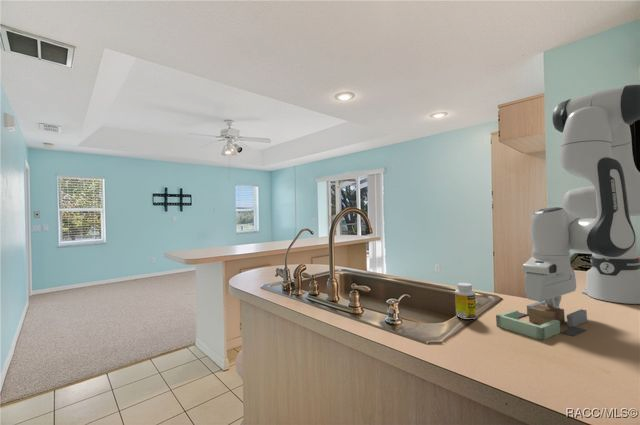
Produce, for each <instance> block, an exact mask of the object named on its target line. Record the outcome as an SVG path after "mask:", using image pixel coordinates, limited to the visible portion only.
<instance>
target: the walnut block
mask: <svg viewBox="0 0 640 425" xmlns="http://www.w3.org/2000/svg"><path fill="white" fill-rule="evenodd" d="M552 320H558V321H560V326H563V325H565V324H566V320H565V309H564V308H560V307H559V308H556V307H552V306H547V305H542V304H538V305H535V306H532V307H529V316H528V323H532V324H535V325H542V324H544V323H547V322H549V321H552ZM562 324H563V325H562Z"/></svg>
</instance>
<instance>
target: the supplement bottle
mask: <svg viewBox="0 0 640 425" xmlns="http://www.w3.org/2000/svg"><path fill="white" fill-rule="evenodd" d="M472 285H473V284H471V283H469V282H458V283H457V287H456V288H457V289H455V291H454V299H455V302H454V303H455V316H456V317H457V316H458V317H461V318H472V319H474V320H476V318H477V309H476V308H477V307H476V306H477V305H476V292H475V291H474V290H473V286H472ZM458 317H457V318H458Z"/></svg>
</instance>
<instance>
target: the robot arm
mask: <svg viewBox="0 0 640 425" xmlns="http://www.w3.org/2000/svg"><path fill="white" fill-rule="evenodd" d="M552 111H553V112H552V118H551V119H552V120H551V121H552V124H553V126H554V129H555V130H557V131H558V132H560V133H562V134H561V142H560V143H561V144H560V154H559V160H560V164H561V167H562V168H563V169H564V170H565V171H566V172H567V173H569V174H571V175H574V176H576V177H579V178H582V179H586V180H588V181H589V182H590V183H592V185H591V186H583V187H582V186H581V187H578V188H574V189H573V188H572V189H569V190H567V191H566V193H564V196H563V198H562V201H561V202H562V207H558V206H557V207H556V206H555V207H548V208H541V209H538V210H536V211H534V212H533V213H532V216H531V219H530V239H531V242H532V249H531V257H530V258H529V259H528V260H527V261H526V262H524V264H523V265H522V271H523V272H526V273H525V274H524V290H525V295H526V297H527V299H528V300H531V301H534V302H542V301H544V302H545V303H546V305H547V306H552V307H556V308H560V304H561V301H562V296H564V295H568V294H570V293H573V292H576V290H577V281H576V280H577V279H576V272H575V270H574V268H573V267H571V253H570V250H571V251H578V252H584V253H590V254H592V255H591V256H590V260H589V261H590V265H591V267H590V269H588V270H587V271H586V287H585V288H582V290H581V293H583V294H585V295H588V296H589V297H590V298H593V299H596V300H601V301H606V302H609V303H610V302H611V303H618V304H630V305H631V304H633V305H637V304H638V305H640V256H638V242H637V236H636V233H635V232H636V231H635V229H634V226H633V224H632V221H631V217H640V171H639V170H638V169H637V167H636V164H635V161H634V155H633V154H634V153H633V145H632V144H633V143H632V142H633V141H632V132H631V127H630V126H631V125H633V124H634V122H637V121H639V120H640V84H630V85H629V84H628V85H625V86H622V87H621V86H620V87H615V88H609V89H603V90H598V91H595V92H592V93H588V94H585V95H581V96H579V97H576V98H573V99H572V98H571V99H567V100H565V101H561V102H560V103H558V104H557V105H556V106H555V108H554V109H553V110H552Z"/></svg>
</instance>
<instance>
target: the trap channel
mask: <svg viewBox="0 0 640 425" xmlns="http://www.w3.org/2000/svg"><path fill="white" fill-rule="evenodd" d="M538 304H542V305H546V303H545V301H542V302H539V301H535V302H533V303H530V304H527V305H526V313H524V312H520V311H519V310H517V309H511V310H508V311H505V312H502V313H498V314H496V315H495V321H496V322H495V323H496V327H499V328H502V329H505V330H508V331H511V332H515V333H518V334H521V335H525V336H528V337H530V338H534V339H537V340H540V341H543V340H546V339H549V338H551V337H553V335H554V336H556V335H558V334H563V333H565V334H564V335H567V334H569V335H568V336H570V335H573V336H572V337H575V336H577V335H579V333H580V334H581V332H582V333H584V332H586V331H587V330H586V328H582V327H579V325H581V324H584V323H586V322H588V316H587V315H588V313H587V309H583V308H582V309H581V308H580V309H578V310H576V311H573V312H571V313H568V314H566V320H567V321H566V322H567V323H566V324H567V328H566V329H563V330H561V325H560V321H558V320H552V321H549V322H547V323H544V324H542V325H540V324H536V323H532V322H529V321H524V320H520V319H521V318H523V317H529V307H532V306H535V305H538ZM577 326H578V327H577ZM560 332H561V333H560ZM576 334H577V335H576ZM574 335H575V336H574Z"/></svg>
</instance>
